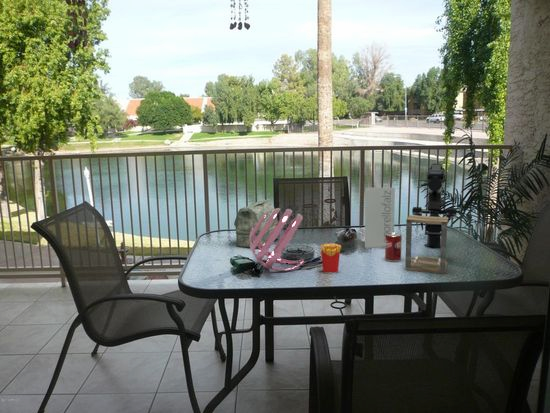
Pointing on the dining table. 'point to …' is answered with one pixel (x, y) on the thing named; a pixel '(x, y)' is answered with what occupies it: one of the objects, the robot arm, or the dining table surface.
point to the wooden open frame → (420, 261)
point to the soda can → (393, 246)
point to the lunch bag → (253, 222)
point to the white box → (378, 215)
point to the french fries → (330, 257)
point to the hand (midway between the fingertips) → (433, 230)
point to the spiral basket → (273, 235)
